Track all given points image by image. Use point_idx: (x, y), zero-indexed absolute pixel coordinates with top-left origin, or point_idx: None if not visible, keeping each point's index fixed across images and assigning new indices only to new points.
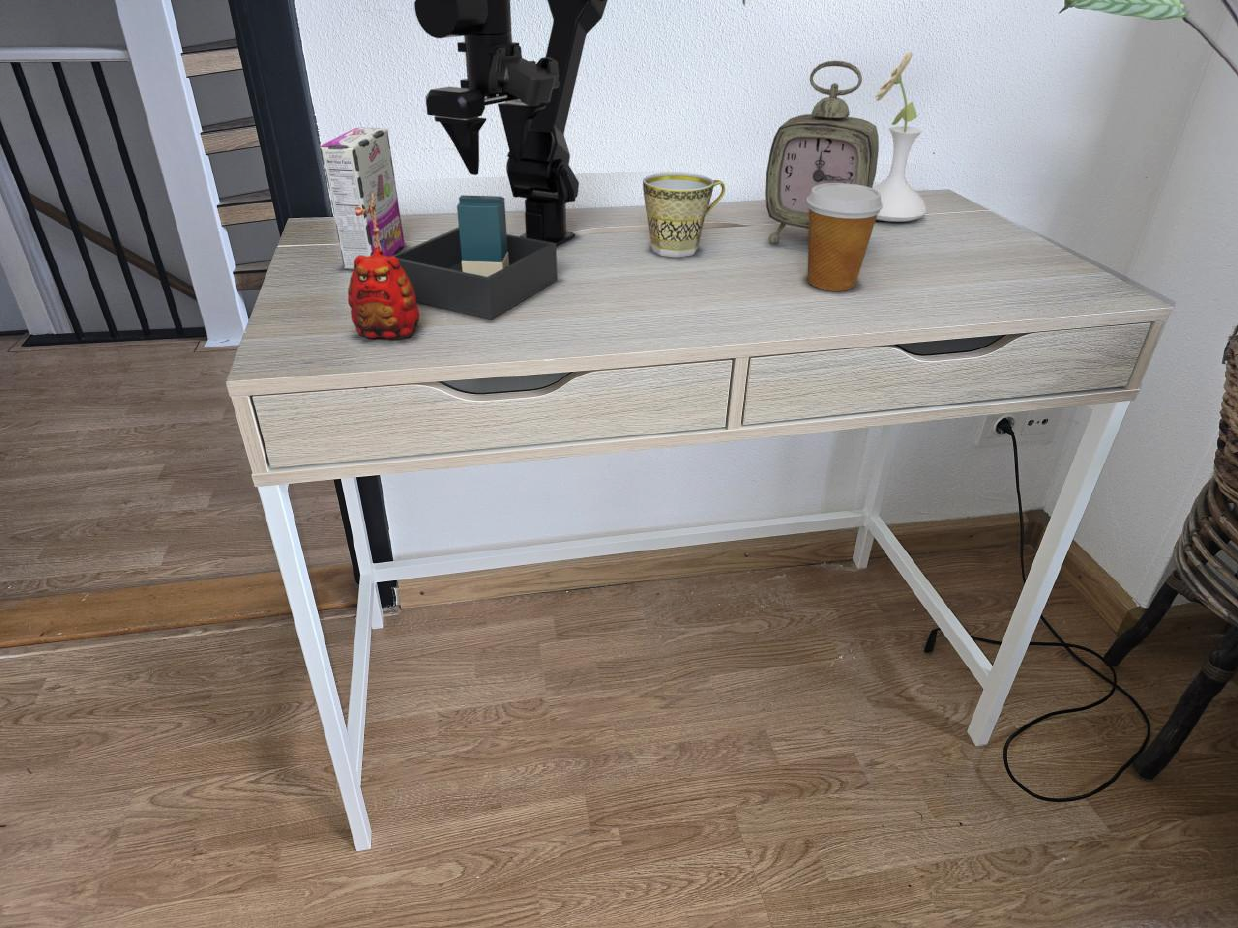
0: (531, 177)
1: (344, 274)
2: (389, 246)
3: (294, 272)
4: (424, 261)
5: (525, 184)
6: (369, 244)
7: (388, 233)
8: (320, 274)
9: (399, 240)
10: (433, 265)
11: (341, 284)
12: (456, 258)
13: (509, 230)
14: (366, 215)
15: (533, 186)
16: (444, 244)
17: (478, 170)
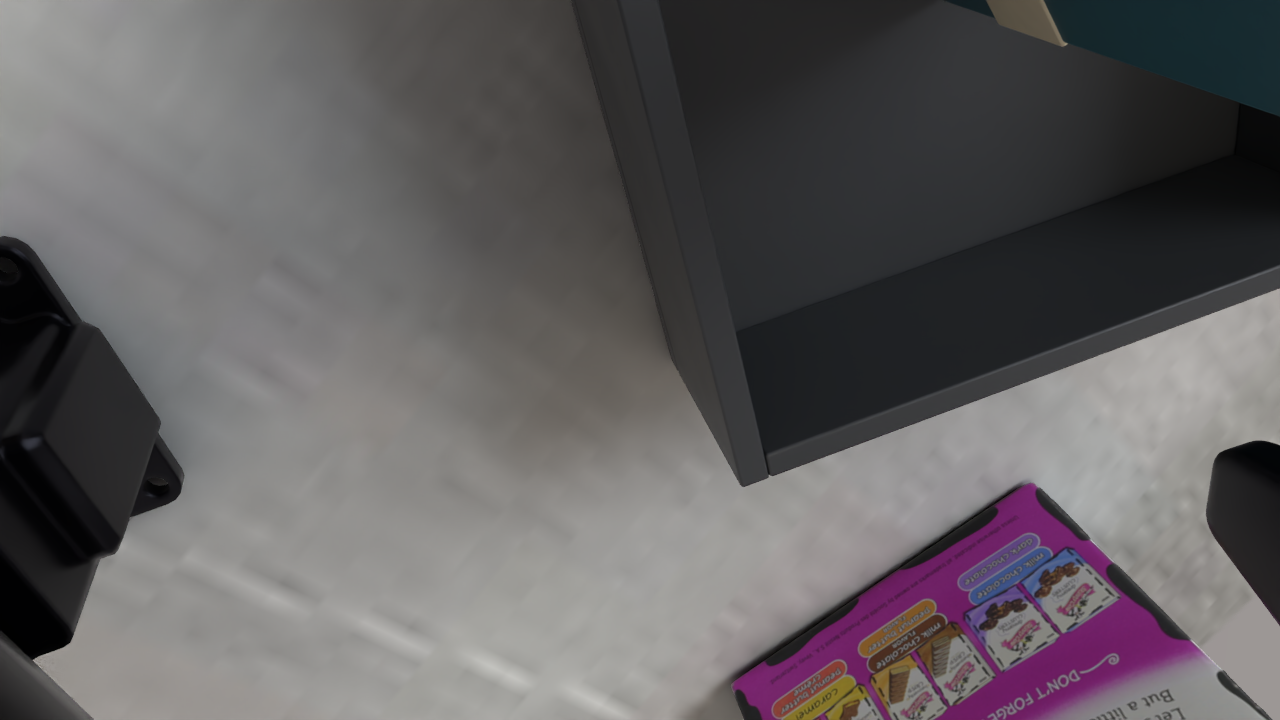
0: (10, 701)
1: (1110, 517)
2: (905, 619)
3: (1176, 620)
4: (1089, 266)
5: (69, 702)
6: (1117, 567)
7: (926, 672)
8: (1151, 561)
9: (792, 683)
10: (994, 271)
11: (1201, 429)
12: (787, 331)
13: (115, 660)
14: (1221, 680)
15: (5, 635)
16: (930, 355)
17: (1261, 471)
